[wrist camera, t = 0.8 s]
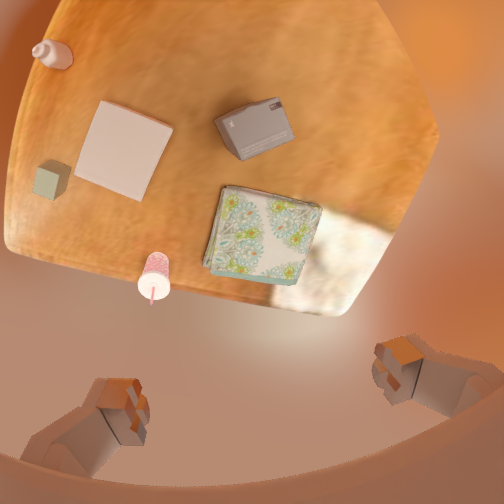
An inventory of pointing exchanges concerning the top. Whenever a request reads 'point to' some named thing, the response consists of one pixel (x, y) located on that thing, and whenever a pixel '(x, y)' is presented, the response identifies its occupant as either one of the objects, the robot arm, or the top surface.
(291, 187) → the top surface
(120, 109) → the storage box
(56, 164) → the green block
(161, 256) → the beverage cup
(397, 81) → the top surface
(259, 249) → the towel
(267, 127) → the skincare box
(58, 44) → the eye dropper bottle
